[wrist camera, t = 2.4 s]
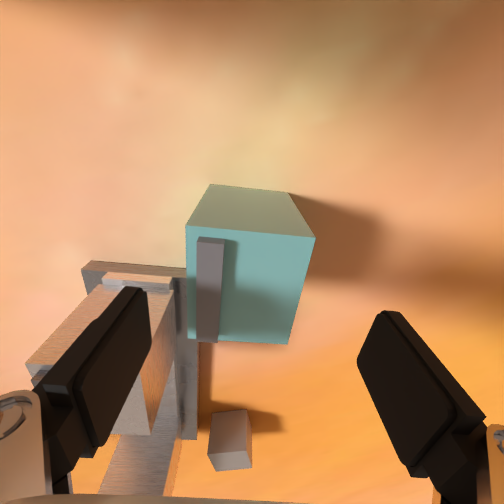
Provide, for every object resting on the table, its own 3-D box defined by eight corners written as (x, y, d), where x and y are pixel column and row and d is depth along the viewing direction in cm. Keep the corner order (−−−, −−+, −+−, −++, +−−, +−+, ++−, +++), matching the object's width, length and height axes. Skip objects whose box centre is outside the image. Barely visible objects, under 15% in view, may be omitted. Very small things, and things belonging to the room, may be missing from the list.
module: (210, 183, 15) (182, 230, 8) (287, 192, 15) (319, 243, 9) (207, 264, 18) (185, 346, 11) (273, 269, 18) (288, 352, 12)
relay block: (212, 412, 27) (207, 454, 24) (246, 408, 27) (246, 450, 24) (219, 429, 29) (216, 471, 26) (251, 426, 29) (252, 468, 25)
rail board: (90, 260, 17) (-29, 364, 10) (200, 269, 18) (168, 374, 10) (130, 426, 28) (88, 535, 21) (198, 428, 29) (181, 535, 21)
